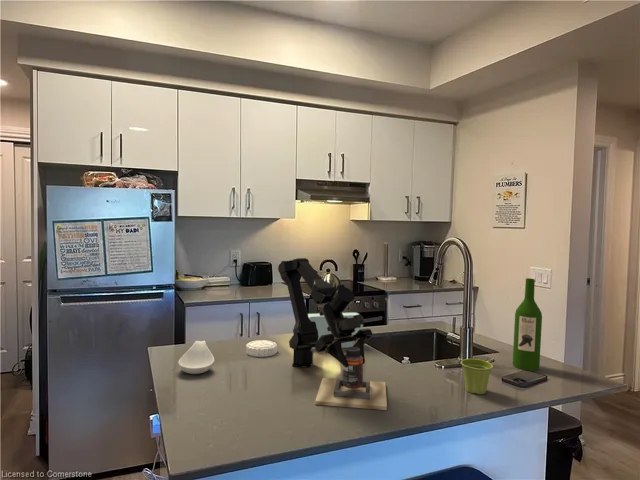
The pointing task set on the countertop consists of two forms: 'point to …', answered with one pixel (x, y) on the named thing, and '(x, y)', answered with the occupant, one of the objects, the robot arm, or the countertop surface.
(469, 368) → the plant pot
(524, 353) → the wine bottle
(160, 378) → the countertop surface
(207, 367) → the spoon rest
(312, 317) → the pale blue rectangular block
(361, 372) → the supplement bottle
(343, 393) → the board
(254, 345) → the mooncake
